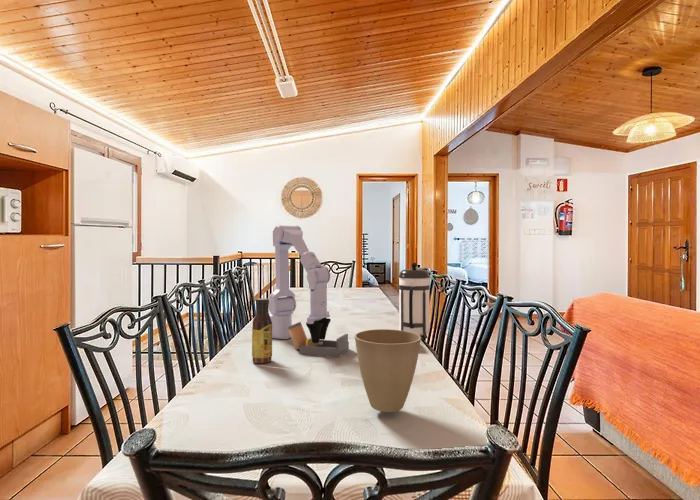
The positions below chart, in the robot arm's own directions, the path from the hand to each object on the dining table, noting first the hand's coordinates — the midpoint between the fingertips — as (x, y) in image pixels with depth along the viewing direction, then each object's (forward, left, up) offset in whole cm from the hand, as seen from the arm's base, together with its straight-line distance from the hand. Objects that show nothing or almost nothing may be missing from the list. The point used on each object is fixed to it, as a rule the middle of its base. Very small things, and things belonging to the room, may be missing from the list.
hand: (318, 340), depth 135 cm
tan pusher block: (-3, 0, -4) cm, 4 cm away
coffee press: (+28, +32, -4) cm, 43 cm away
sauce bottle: (-12, -17, -4) cm, 21 cm away
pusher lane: (+2, 0, -4) cm, 4 cm away
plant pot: (+34, -38, -4) cm, 51 cm away
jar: (-6, 0, -3) cm, 7 cm away
